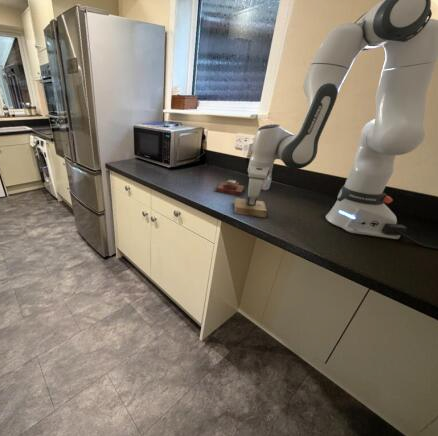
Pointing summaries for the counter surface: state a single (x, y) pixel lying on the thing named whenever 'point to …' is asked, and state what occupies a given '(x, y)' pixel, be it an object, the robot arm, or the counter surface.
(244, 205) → the volume panel
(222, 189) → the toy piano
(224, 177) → the counter surface
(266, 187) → the small white box
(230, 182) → the key
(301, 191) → the counter surface
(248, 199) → the volume dial
